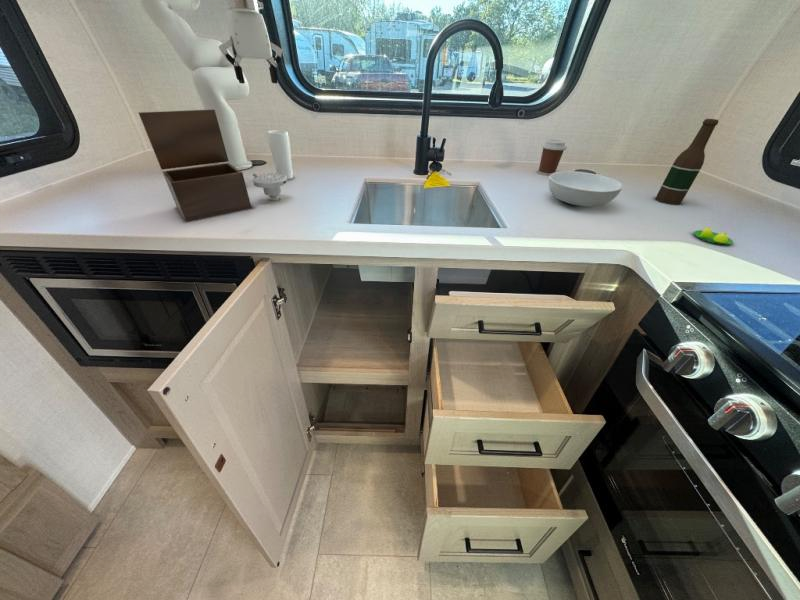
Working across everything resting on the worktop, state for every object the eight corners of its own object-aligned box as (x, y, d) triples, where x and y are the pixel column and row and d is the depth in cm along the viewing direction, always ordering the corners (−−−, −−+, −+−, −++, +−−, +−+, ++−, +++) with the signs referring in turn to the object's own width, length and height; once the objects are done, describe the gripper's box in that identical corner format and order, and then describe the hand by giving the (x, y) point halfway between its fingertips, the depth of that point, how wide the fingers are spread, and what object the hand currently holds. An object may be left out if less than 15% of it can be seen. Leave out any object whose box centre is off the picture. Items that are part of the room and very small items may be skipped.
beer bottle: (673, 206, 101) (721, 121, 87) (649, 198, 107) (690, 117, 93) (686, 203, 104) (734, 120, 90) (662, 195, 110) (703, 117, 96)
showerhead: (261, 169, 96) (291, 172, 94) (266, 193, 100) (295, 196, 99) (243, 177, 88) (275, 180, 87) (249, 203, 93) (280, 206, 91)
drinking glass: (299, 177, 115) (292, 131, 106) (286, 182, 110) (278, 134, 101) (284, 174, 117) (276, 129, 108) (271, 179, 112) (262, 132, 103)
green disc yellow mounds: (698, 242, 80) (705, 232, 78) (688, 230, 86) (694, 220, 84) (737, 248, 78) (745, 238, 76) (723, 235, 84) (730, 225, 82)
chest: (251, 208, 90) (242, 172, 84) (186, 221, 81) (170, 182, 75) (238, 196, 97) (228, 162, 91) (176, 207, 88) (162, 171, 82)
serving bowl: (529, 194, 106) (535, 173, 102) (574, 188, 113) (582, 168, 109) (579, 217, 91) (588, 193, 87) (628, 209, 98) (638, 186, 94)
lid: (214, 109, 83) (209, 106, 86) (138, 112, 74) (135, 109, 77) (228, 161, 91) (223, 157, 94) (161, 169, 82) (158, 164, 85)
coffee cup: (562, 174, 129) (573, 142, 122) (549, 177, 125) (559, 144, 118) (543, 169, 135) (552, 138, 128) (530, 171, 131) (538, 139, 124)
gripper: (270, 10, 91) (282, 82, 101) (204, 3, 82) (224, 82, 92) (280, 8, 86) (291, 83, 96) (211, -1, 77) (231, 84, 88)
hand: (258, 83), depth 94 cm, fingers open, 9 cm apart
